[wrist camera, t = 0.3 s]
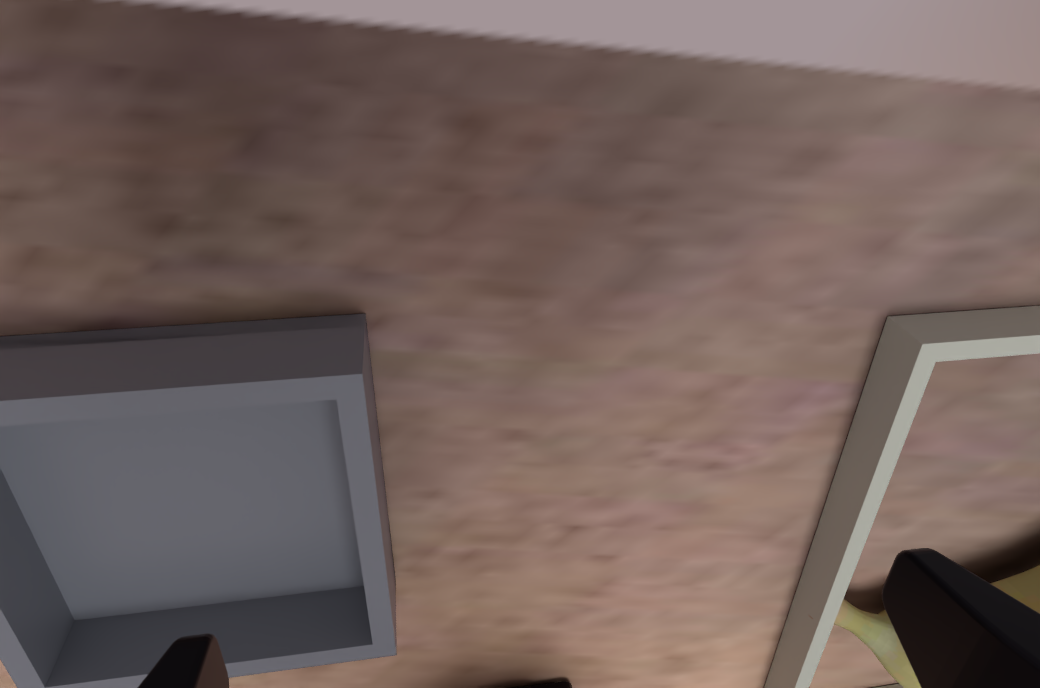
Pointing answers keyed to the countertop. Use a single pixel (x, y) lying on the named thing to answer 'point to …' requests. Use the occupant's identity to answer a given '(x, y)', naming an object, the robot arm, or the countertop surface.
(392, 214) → the countertop surface
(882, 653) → the banana
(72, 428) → the tray
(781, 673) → the fruit rim
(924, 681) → the robot arm
